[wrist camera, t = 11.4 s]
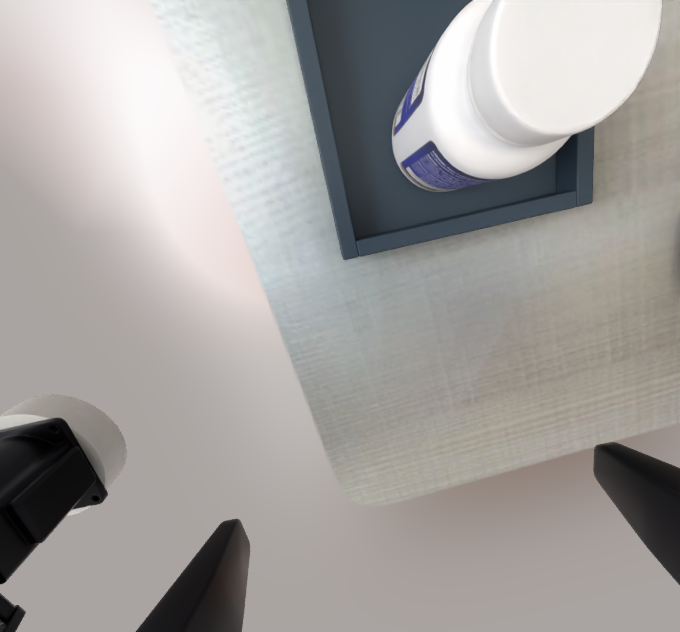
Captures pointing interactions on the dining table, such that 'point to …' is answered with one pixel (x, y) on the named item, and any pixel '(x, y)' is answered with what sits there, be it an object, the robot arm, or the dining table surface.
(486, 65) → the pill bottle
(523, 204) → the tray
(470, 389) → the dining table surface
